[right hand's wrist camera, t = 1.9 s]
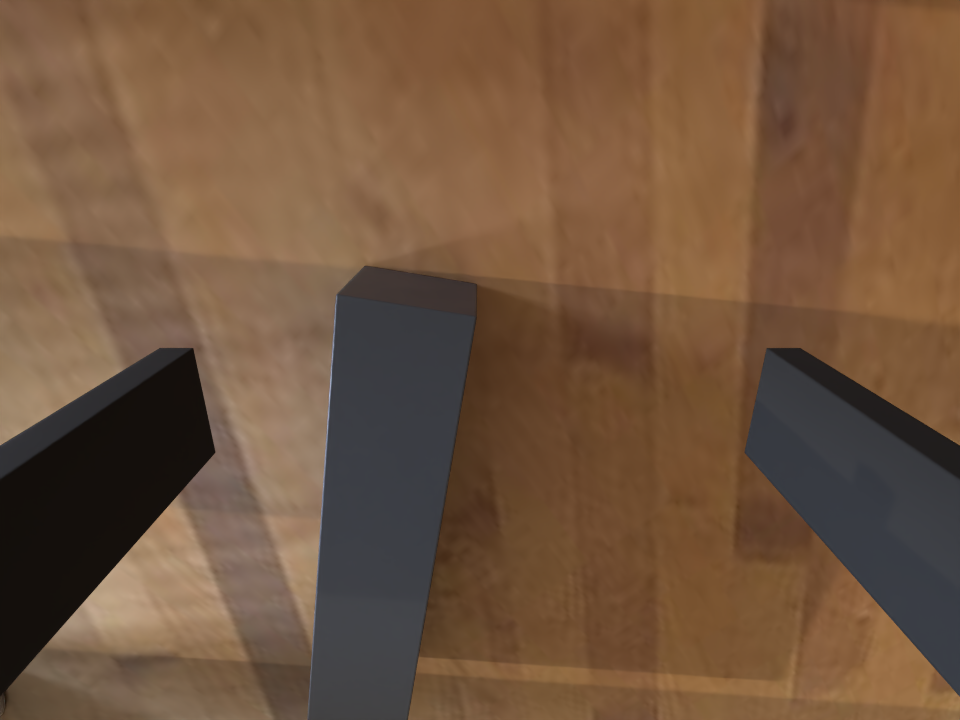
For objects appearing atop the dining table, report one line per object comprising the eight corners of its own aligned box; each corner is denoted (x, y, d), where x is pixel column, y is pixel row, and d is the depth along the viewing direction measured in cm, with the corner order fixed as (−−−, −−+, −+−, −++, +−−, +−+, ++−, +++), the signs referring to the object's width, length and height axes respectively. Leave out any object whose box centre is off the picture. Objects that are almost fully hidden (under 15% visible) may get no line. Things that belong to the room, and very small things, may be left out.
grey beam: (331, 647, 38) (306, 733, 32) (364, 265, 28) (335, 293, 22) (414, 657, 38) (403, 743, 33) (477, 283, 28) (476, 316, 22)
